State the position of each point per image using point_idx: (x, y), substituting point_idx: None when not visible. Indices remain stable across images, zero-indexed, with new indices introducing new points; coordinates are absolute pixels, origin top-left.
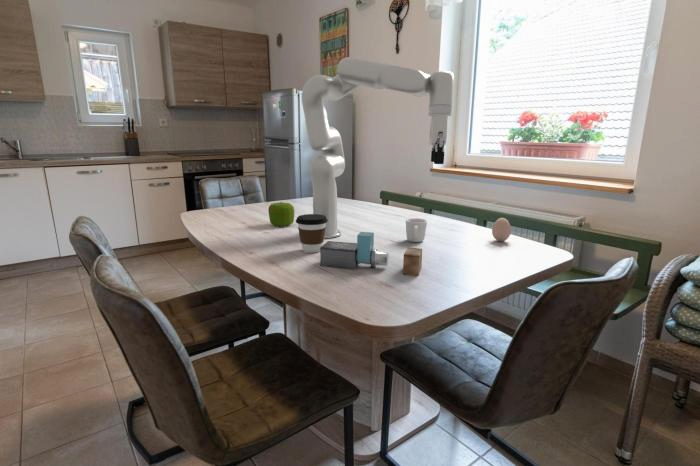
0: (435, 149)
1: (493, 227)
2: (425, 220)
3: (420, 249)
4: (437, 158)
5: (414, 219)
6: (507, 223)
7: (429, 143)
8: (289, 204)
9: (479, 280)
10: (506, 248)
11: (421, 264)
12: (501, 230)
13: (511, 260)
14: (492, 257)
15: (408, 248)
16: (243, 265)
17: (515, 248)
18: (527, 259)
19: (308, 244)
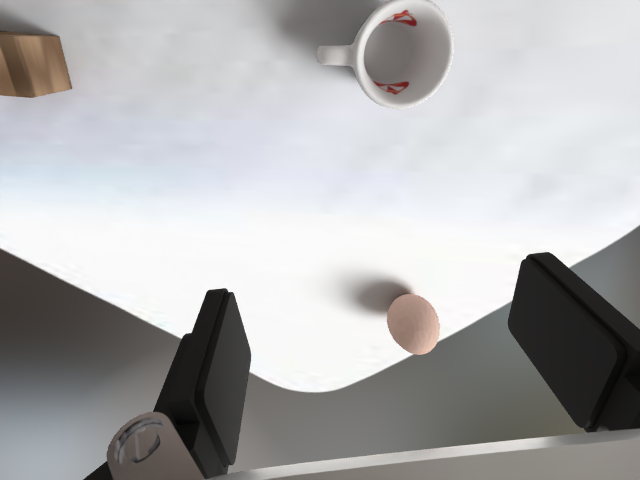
0: (168, 445)
1: (412, 310)
2: (410, 102)
3: (18, 90)
4: (176, 357)
5: (445, 44)
6: (404, 348)
7: (572, 468)
8: None
9: (55, 233)
10: (338, 306)
11: (63, 89)
12: (390, 323)
13: (239, 305)
14: (250, 272)
15: (3, 41)
16: None
17: (342, 322)
18: (258, 332)
19: None
